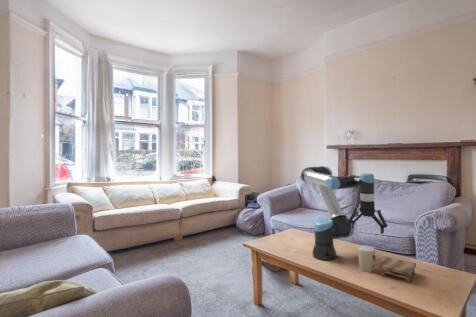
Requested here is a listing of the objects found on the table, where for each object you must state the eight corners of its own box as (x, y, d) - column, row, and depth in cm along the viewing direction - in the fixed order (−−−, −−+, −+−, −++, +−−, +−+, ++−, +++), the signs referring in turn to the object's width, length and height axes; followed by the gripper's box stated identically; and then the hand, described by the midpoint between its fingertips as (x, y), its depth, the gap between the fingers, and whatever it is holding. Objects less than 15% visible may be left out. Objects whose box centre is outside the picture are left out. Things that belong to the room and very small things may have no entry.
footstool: (378, 275, 146) (378, 265, 145) (385, 265, 157) (385, 256, 157) (410, 283, 136) (410, 273, 135) (416, 273, 147) (415, 263, 146)
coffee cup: (378, 272, 149) (377, 251, 148) (360, 271, 150) (359, 250, 150) (373, 265, 158) (372, 245, 157) (356, 264, 160) (355, 245, 159)
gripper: (342, 199, 158) (343, 234, 159) (390, 204, 142) (390, 243, 143) (346, 197, 164) (347, 231, 165) (393, 201, 148) (393, 238, 149)
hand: (367, 236), depth 154 cm, fingers open, 13 cm apart
